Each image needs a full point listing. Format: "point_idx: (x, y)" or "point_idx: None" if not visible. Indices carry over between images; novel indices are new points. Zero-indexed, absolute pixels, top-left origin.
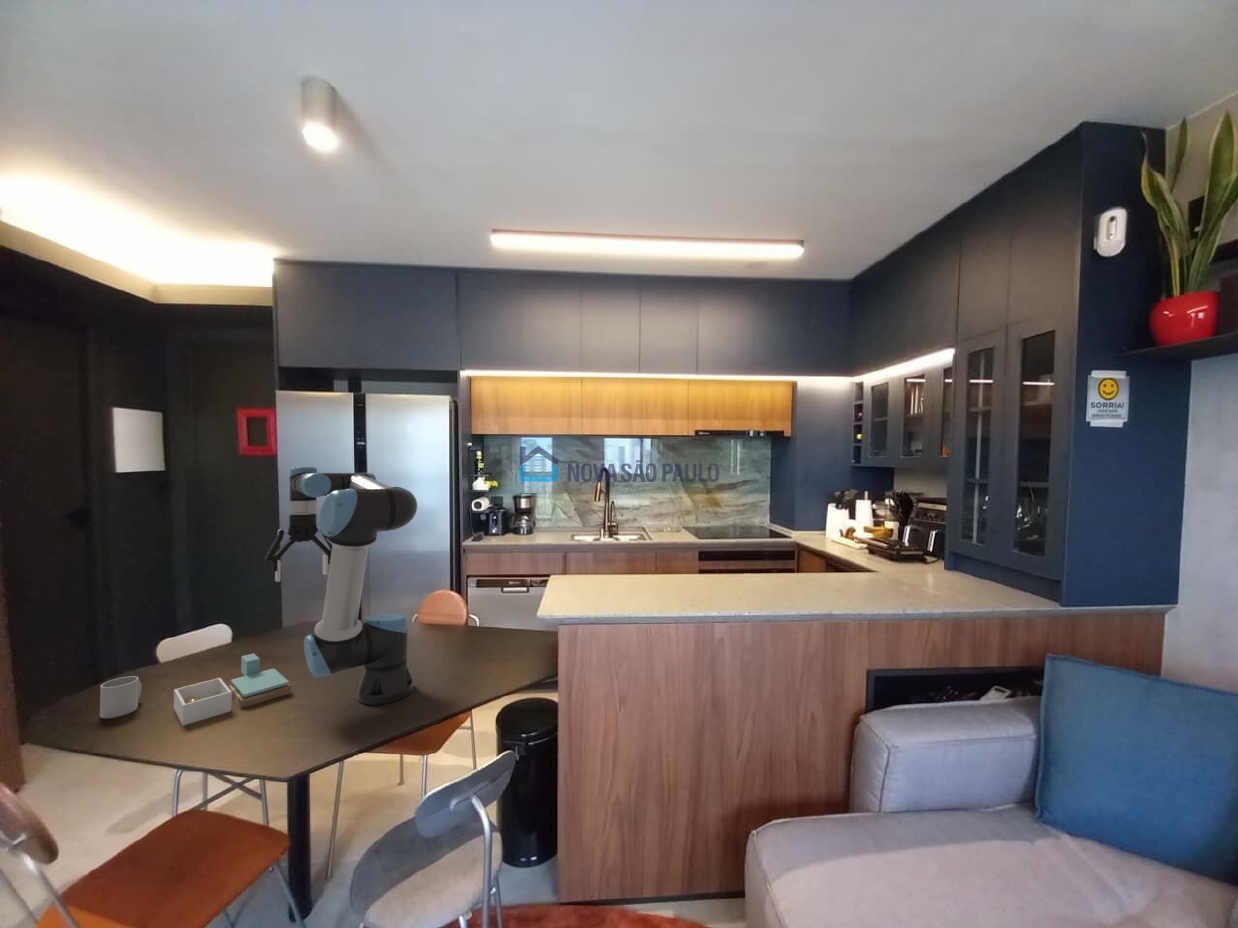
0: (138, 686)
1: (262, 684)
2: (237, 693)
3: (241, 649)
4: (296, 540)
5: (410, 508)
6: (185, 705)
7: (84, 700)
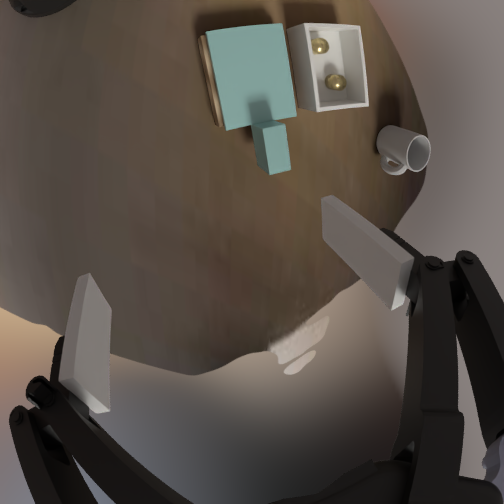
0: (391, 167)
1: (251, 48)
2: None
3: (258, 317)
4: (398, 466)
5: None
6: (356, 26)
7: (401, 214)
